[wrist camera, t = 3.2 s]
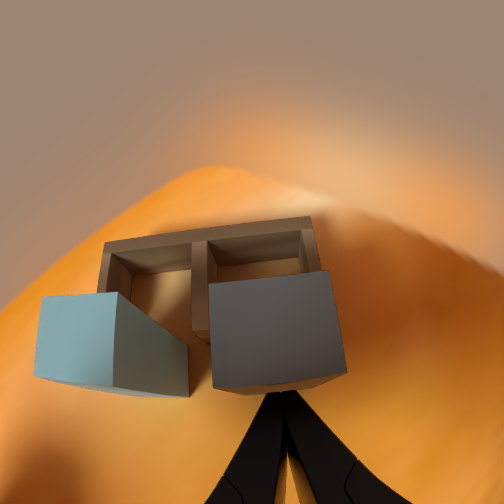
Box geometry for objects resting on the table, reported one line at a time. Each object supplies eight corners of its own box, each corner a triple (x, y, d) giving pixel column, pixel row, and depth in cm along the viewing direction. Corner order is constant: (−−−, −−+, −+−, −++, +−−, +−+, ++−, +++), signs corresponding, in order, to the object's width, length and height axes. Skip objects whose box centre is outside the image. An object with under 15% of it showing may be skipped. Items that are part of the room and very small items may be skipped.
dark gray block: (312, 387, 14) (347, 372, 7) (245, 395, 14) (212, 388, 7) (305, 333, 15) (328, 270, 8) (240, 341, 15) (208, 283, 8)
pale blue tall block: (189, 397, 14) (112, 386, 7) (131, 396, 14) (34, 375, 7) (187, 344, 16) (117, 291, 9) (131, 346, 16) (42, 296, 9)
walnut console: (321, 331, 15) (330, 315, 13) (119, 346, 16) (92, 333, 13) (305, 244, 18) (309, 215, 15) (125, 265, 18) (104, 242, 16)
